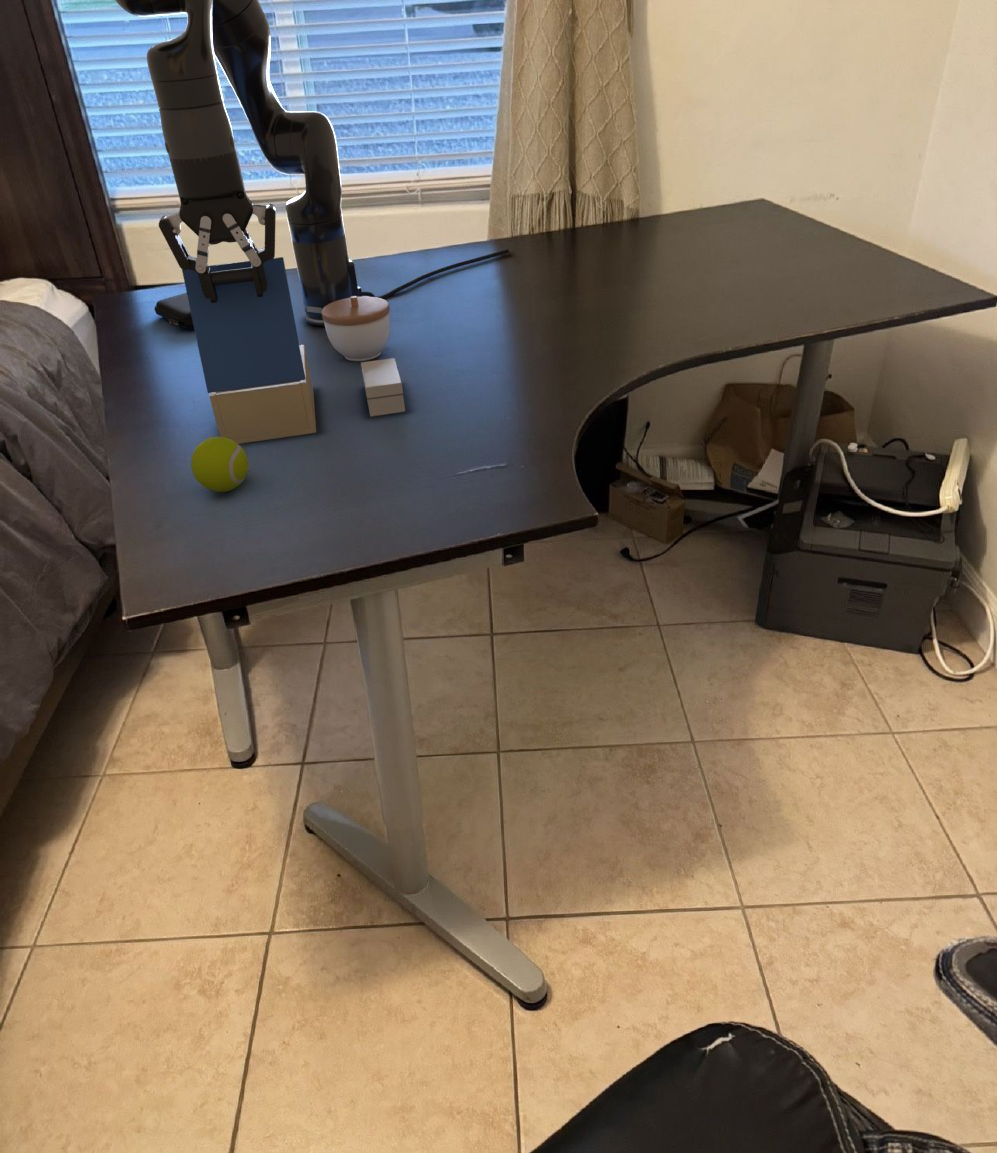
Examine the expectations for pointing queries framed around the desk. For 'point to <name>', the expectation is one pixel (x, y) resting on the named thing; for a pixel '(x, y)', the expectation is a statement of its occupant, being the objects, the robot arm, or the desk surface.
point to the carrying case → (176, 310)
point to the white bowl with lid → (358, 326)
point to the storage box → (266, 410)
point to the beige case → (383, 387)
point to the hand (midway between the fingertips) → (237, 297)
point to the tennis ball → (219, 464)
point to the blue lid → (245, 327)
